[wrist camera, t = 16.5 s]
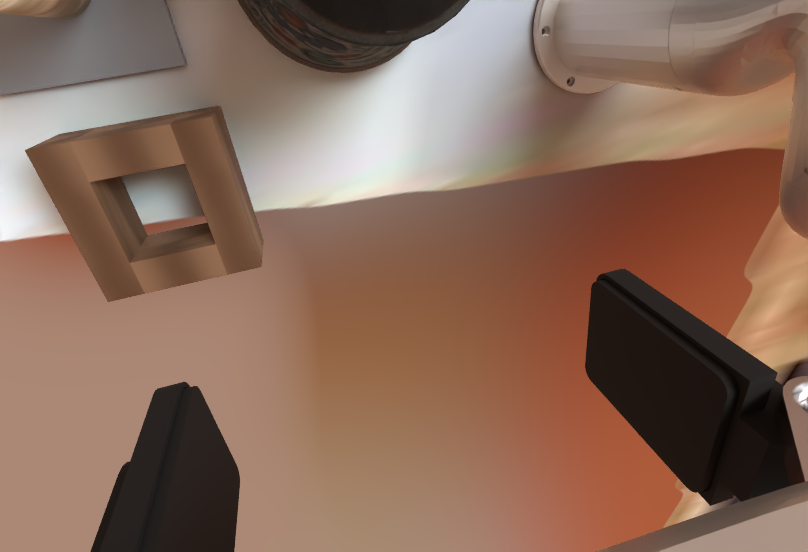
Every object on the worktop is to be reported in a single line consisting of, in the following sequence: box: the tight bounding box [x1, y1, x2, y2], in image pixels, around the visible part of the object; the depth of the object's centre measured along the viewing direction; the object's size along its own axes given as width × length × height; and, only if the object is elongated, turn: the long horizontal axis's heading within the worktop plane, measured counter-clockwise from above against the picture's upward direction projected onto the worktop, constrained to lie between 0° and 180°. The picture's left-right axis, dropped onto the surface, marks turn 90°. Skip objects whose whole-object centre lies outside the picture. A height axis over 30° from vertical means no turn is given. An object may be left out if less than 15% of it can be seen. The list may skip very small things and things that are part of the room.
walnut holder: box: [25, 106, 263, 302], centre depth 39 cm, size 13×13×6 cm
